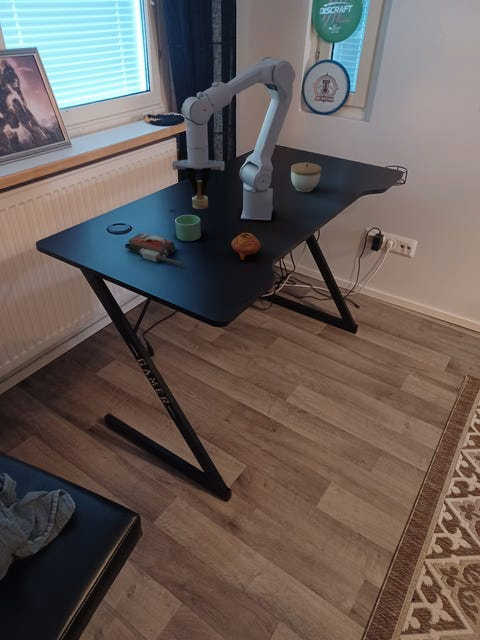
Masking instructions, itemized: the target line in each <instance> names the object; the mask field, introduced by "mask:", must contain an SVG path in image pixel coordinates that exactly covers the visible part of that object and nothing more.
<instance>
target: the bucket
mask: <svg viewBox="0 0 480 640" xmlns="http://www.w3.org/2000/svg"><path fill="white" fill-rule="evenodd" d="M201 224H202V223H201V218H200V217H199V216H198V215H194V214H183V215H179V216H177V217H176V218H175V219H174V225H175V235H176V238H177V239H178V240H179V241H182V242H192V241H193V242H194V241H197V240H198V239H200V238H201V237H202V227H201V226H202V225H201Z"/></svg>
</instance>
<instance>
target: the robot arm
mask: <svg viewBox="0 0 480 640" xmlns="http://www.w3.org/2000/svg"><path fill="white" fill-rule="evenodd" d="M296 76H297V75H296V72H295V70H294V67H293V65H292V63H291V62H290V61H287V60H281V59H277V58H273V57H271V56H266V57H263V58H261V59H260V60H257V61H255V62H254V63H253V64H252V65H251V66H250V67H248V68H247V69H245V70H244V71H242V72H241V73H239V74H238V75H237V76H234V78H232V79H231V80H229V81H228V82H227V83H224V82H222V81H219V82H217V81H213V82H212V83H211V87H209V88H207V89H205V90H204V91H199V92H197V93H196V96H190V97H187V98H186V99H185V100H184V102H183V103H182V107H181V109H180V112H181V114H182V117H183V118H184V119H185V133H186V134H185V135H186V136H185V137H186V151H187V159H182V160H181V159H180V160H172V161H171V165H172V170H173V171H177V170H185V175H186V177H187V179H188V182H189V183H190V185H191V188H192V190H193V195H194V196H196V195H197V189H196V181H197V170H201V172H200V173H201V174H200V175H201V181H202V195H204V196H206V189H207V184H208V181H209V179H210V176H211V173H212V170H213V171H214V170H215V171H216V170H219V171H225V161H224V160H223V161H221V160H214V159H213V160H212V159H209V137H208V136H209V135H208V122H209V120H210V119H211V116H212V115H213V114H215V113H216V112H218V111H220V110H222V109H223V108H225V107H226V106H228V105H230V104H231V103H232V99H233V97H234V96H236V95H237V94H239V93H241V92H243V91H246V90H247V89H249V88H251V87H253V86H255V85H256V84H263V85H264V86H265V87H266V89H267V91H268V92H269V95H270V98H271V100H270V103H269V105H268V109H267V112H266V115H265V118H264V121H263V123H262V126H261V129H260V132H259V135H258V138H257V141H256V144H255V147H254V150H253V152H252V153H251V154H250V155H248V156H247V157H246V160H245V162H244V164H243V165H242V166H241V167H240V169H239V179H240V180H241V182H242V185H243V193H242V194H243V198H242V200H243V201H242V202H243V203H242V204H243V205H242V207H243V208H242V212H241V215H240V219H241V220H255V221H272V216H273V215H272V214H273V212H274V206H273V199H274V189H273V188H271V187H270V186H271V184H272V174H273V171H274V166H273V163H272V160H271V159H272V156H273V154H274V151H275V148H276V145H277V143H278V140H279V137H280V134H281V131H282V129H283V125H284V123H285V120H286V117H287V114H288V111H289V109H290V106H291V103H292V100H293V92H294V91H293V90H294V89H293V88H294V87H293V86H294V82H295V78H296Z"/></svg>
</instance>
